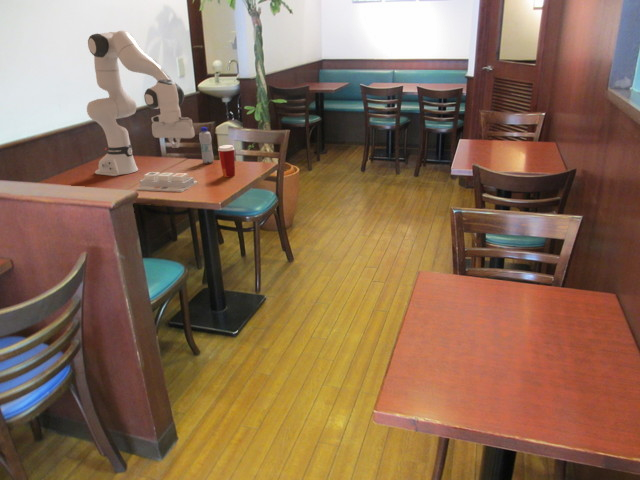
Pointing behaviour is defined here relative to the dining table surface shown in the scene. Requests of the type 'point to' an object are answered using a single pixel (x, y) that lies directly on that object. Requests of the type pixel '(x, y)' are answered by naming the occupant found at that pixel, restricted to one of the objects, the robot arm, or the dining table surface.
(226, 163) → the coffee cup
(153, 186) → the keypad base
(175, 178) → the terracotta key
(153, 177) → the charcoal key
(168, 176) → the sage key
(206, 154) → the bottle
